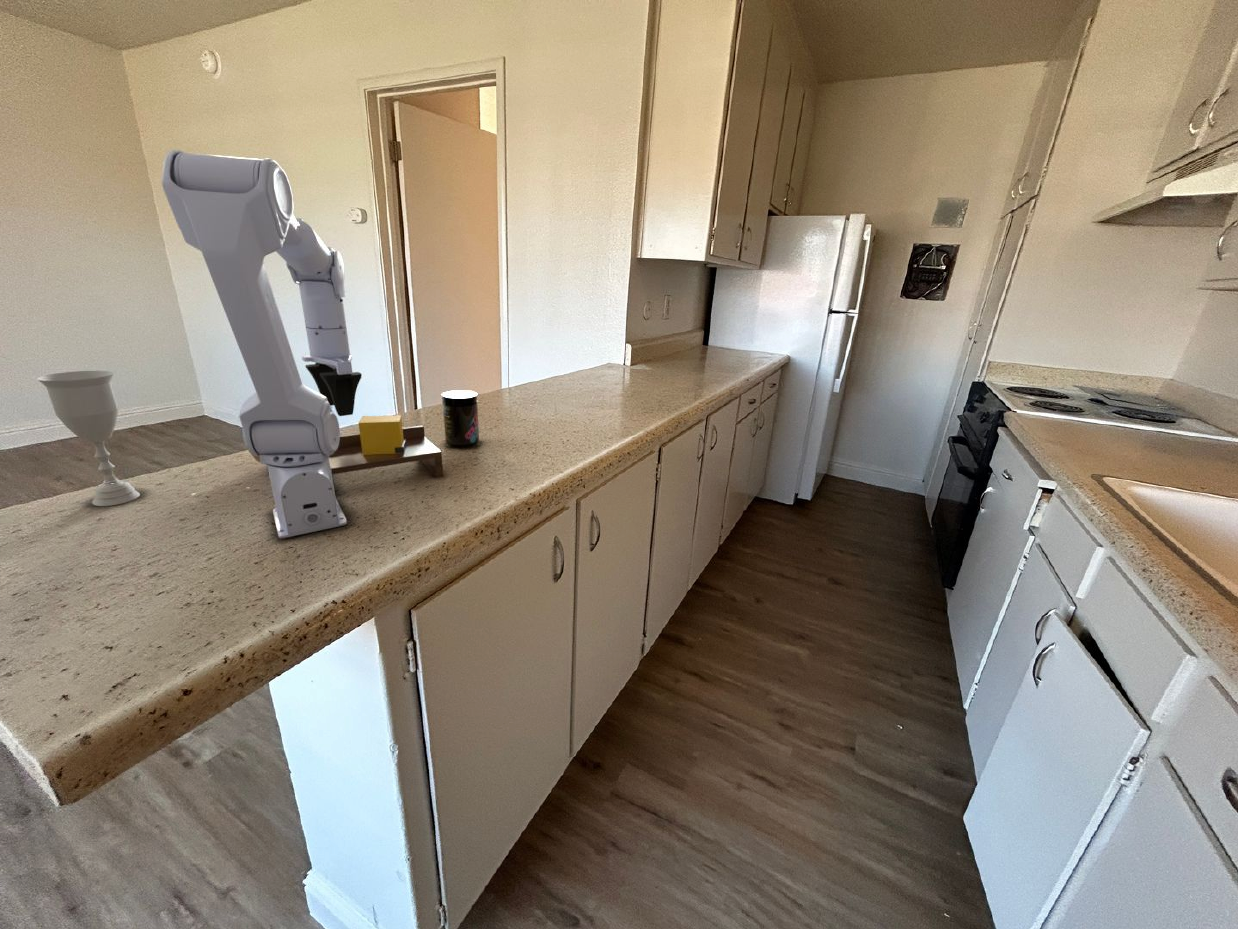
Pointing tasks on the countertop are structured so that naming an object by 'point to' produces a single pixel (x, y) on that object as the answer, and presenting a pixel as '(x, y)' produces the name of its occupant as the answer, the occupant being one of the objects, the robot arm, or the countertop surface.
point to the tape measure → (382, 435)
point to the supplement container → (460, 418)
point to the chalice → (90, 422)
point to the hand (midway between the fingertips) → (338, 409)
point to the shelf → (415, 450)
